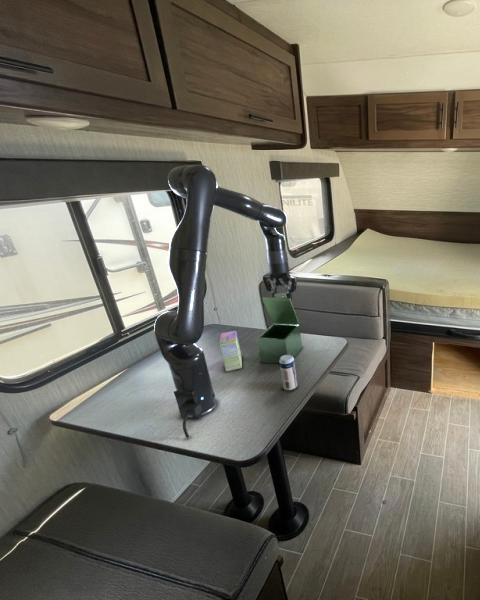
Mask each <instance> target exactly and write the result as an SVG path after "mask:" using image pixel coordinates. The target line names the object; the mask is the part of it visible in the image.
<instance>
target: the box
mask: <svg viewBox="0 0 480 600" xmlns="http://www.w3.org/2000/svg"><path fill="white" fill-rule="evenodd" d="M218 345H219V349H220V353H221V356H222V361H223V366H224V370H225V372H230V371H235V370H238V369H242V368H243V367H242V366H243V361H242V358H243V357H242V351H241V346H240V342H239V337H238V333H237V330H233V331H232V330H231V331H226V332H221V333H220V337H219V344H218Z"/></svg>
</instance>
